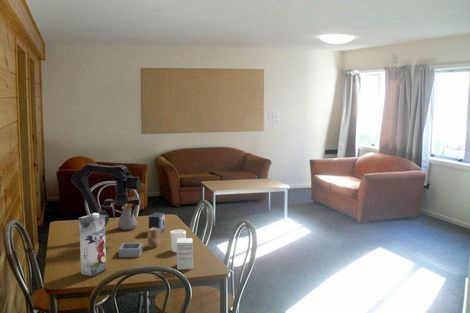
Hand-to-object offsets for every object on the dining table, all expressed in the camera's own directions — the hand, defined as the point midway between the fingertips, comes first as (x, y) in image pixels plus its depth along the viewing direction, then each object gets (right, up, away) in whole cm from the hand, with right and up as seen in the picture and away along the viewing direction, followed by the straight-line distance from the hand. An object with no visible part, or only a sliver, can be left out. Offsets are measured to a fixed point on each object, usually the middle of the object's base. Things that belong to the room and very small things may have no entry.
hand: (123, 218), depth 268 cm
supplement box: (+37, -18, -37) cm, 55 cm away
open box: (+8, -16, -19) cm, 26 cm away
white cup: (+31, -15, -13) cm, 37 cm away
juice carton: (-3, -19, -45) cm, 49 cm away
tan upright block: (+18, -14, -6) cm, 23 cm away
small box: (+15, -11, +20) cm, 27 cm away
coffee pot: (-8, -10, +26) cm, 29 cm away
